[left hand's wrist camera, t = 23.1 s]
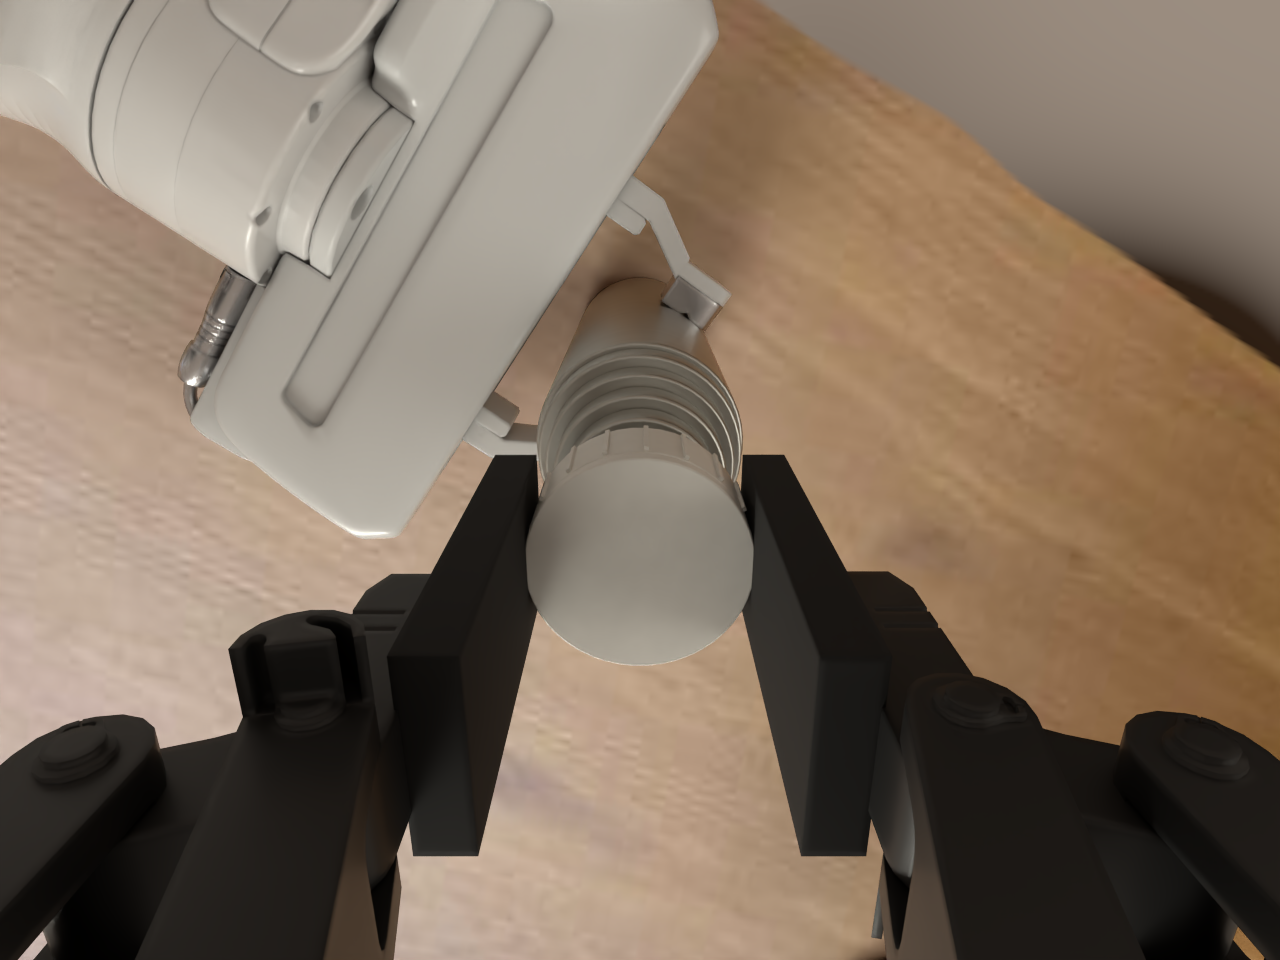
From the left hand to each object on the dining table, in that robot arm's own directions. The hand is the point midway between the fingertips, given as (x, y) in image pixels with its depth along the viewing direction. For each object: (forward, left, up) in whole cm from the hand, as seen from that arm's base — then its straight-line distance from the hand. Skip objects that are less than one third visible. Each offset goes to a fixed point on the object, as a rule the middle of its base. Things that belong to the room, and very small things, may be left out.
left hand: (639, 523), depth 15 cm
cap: (0, 0, +1) cm, 1 cm away
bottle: (0, 0, -19) cm, 19 cm away
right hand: (-1, 0, -13) cm, 13 cm away
